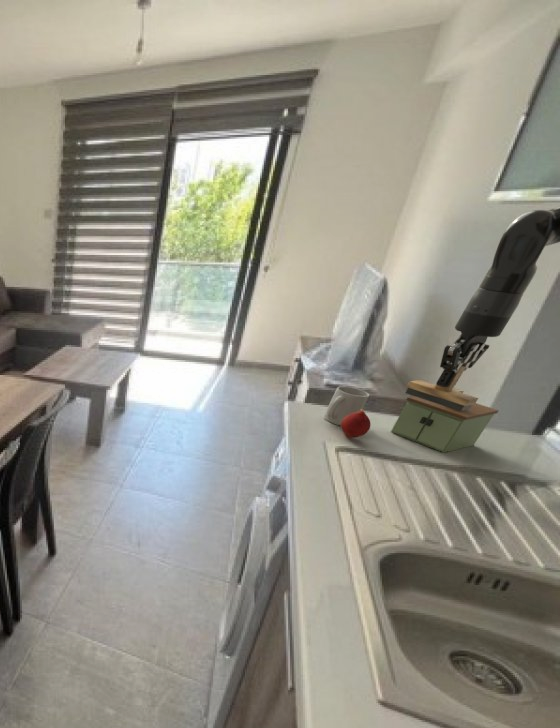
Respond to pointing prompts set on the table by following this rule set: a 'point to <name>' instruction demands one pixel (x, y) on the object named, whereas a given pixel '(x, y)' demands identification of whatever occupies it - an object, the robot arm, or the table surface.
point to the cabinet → (442, 424)
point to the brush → (442, 393)
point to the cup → (345, 403)
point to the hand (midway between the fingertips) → (445, 385)
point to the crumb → (457, 390)
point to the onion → (355, 424)
